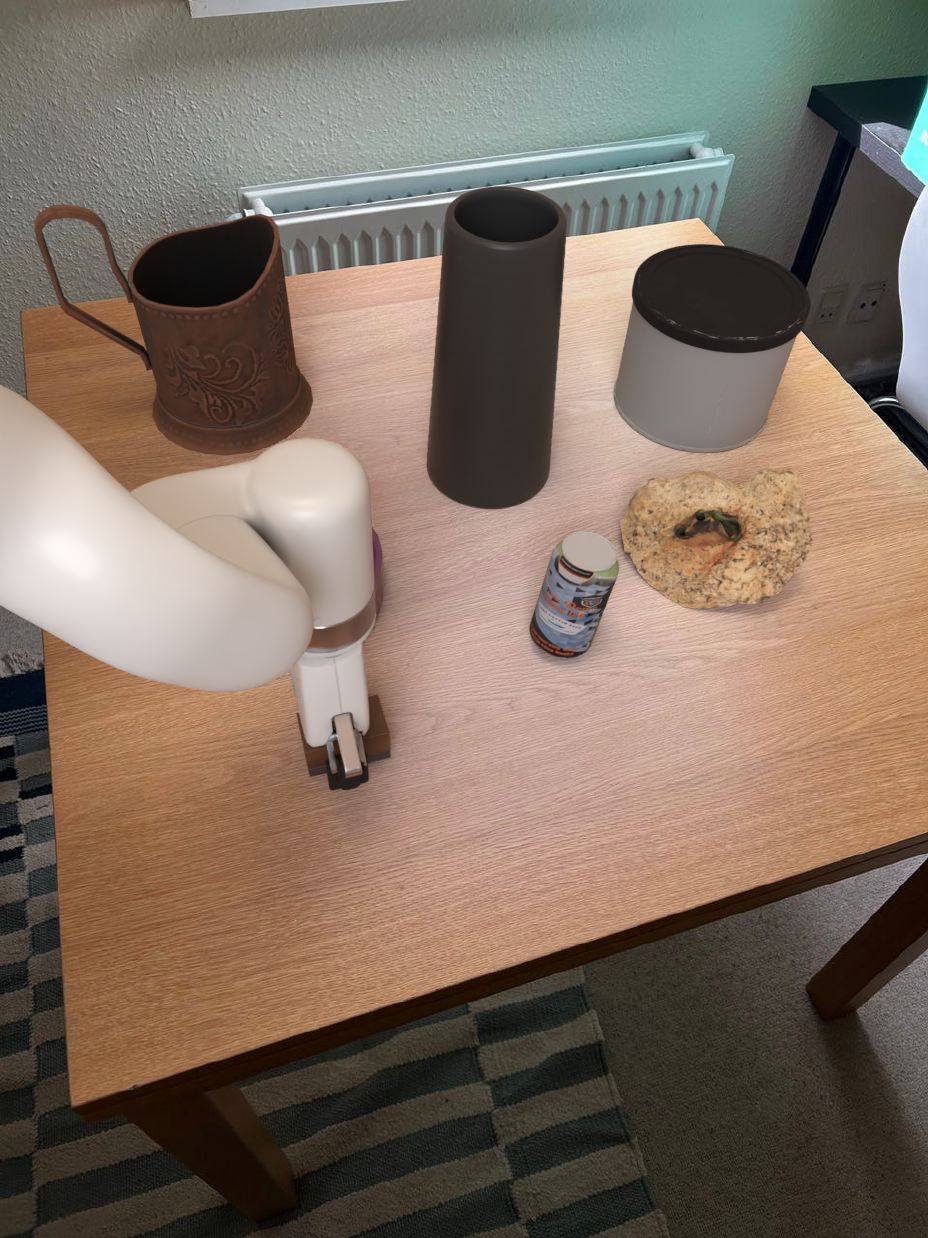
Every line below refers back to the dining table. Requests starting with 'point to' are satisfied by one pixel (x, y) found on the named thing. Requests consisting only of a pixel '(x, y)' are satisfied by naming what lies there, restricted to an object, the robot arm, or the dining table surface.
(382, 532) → the dining table surface
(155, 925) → the dining table surface
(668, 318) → the container
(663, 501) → the beige rock
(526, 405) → the vase
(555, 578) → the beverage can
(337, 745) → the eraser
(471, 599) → the dining table surface
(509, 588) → the dining table surface
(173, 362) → the cup holder
